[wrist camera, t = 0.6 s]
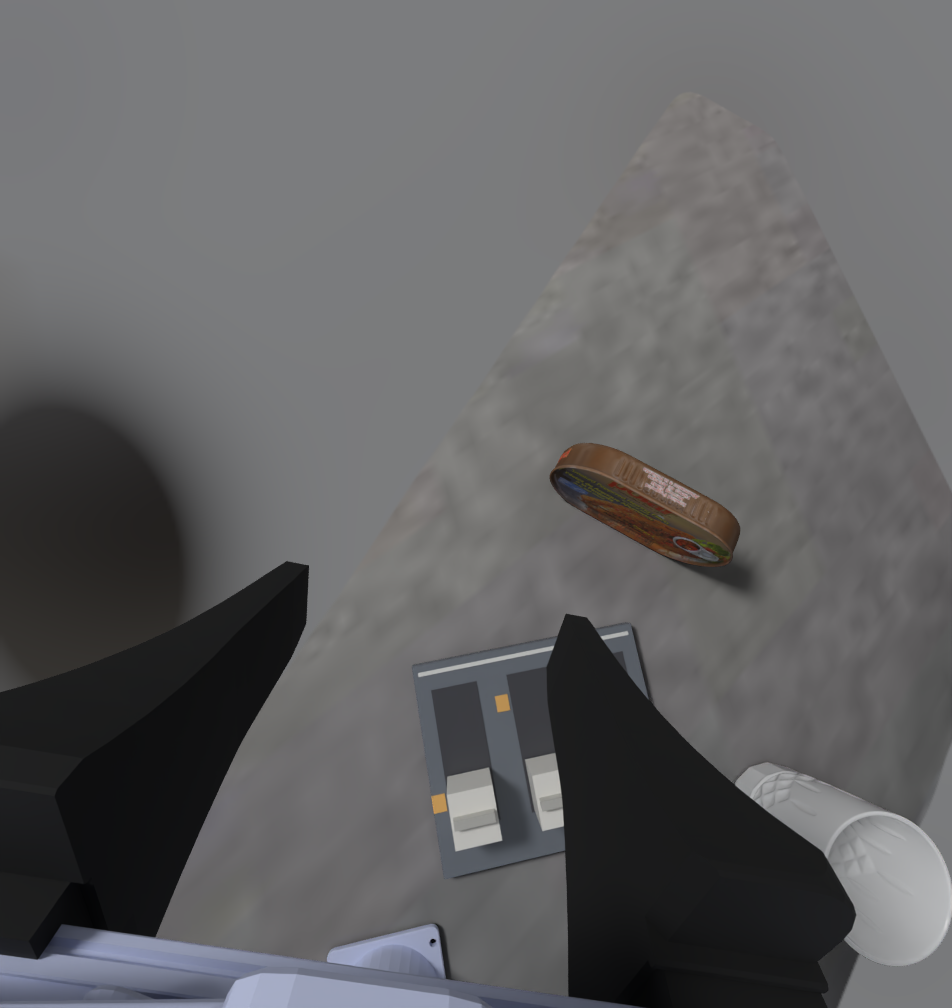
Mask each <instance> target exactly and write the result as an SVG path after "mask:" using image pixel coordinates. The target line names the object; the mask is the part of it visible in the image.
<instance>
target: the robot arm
mask: <svg viewBox="0 0 952 1008" xmlns="http://www.w3.org/2000/svg"><path fill="white" fill-rule="evenodd" d="M308 573H309V565H303V564H298V563H293V562H288V561H286V562H285V563H284V564H282V565H280V566H278V567H277V568H275V569H274V570H272V571H270V572H269V573H267V574H266V575H264V576H263V577H261V578H260V579H258V580H257V581H255V582H254V583H252V584H251V585H249V586H247V587H246V588H244V589H243V590H241V591H239V592H238V593H236V594H235V595H233V596H231V597H230V598H228V599H226V600H225V601H223V602H222V603H220V604H218V605H216V606H214V607H213V608H211V609H209V610H207V611H206V612H204V613H202V614H200V615H198V616H197V617H195V618H193V619H191V620H190V621H188V622H186V623H184V624H182V625H180V626H178V627H176V628H174V629H172V630H170V631H168V632H166V633H163V634H161V635H159V636H157V637H155V638H153V639H150V640H148V641H146V642H144V643H141V644H139V645H137V646H135V647H132V648H130V649H127V650H124V651H122V652H119V653H117V654H114V655H112V656H109V657H107V658H104V659H102V660H99V661H97V662H94V663H91V664H89V665H86V666H83V667H80V668H77V669H74V670H71V671H69V672H66V673H63V674H60V675H57V676H54V677H50V678H48V679H44V680H41V681H38V682H35V683H32V684H28V685H25V686H22V687H18V688H15V689H11V690H7V691H4V692H0V1008H827V1006H826V1003H825V1001H824V999H823V997H822V995H821V993H826V992H827V991H828V983H827V981H826V979H825V977H824V975H823V973H822V970H821V968H820V966H819V964H818V961H819V960H820V959H821V958H822V957H823V956H825V955H826V954H827V953H828V952H829V951H830V950H832V949H833V948H834V947H835V946H836V945H838V944H839V943H840V942H841V941H842V940H843V939H844V938H845V937H846V936H847V935H848V934H849V933H850V932H851V930H852V928H853V925H854V922H855V918H856V912H855V908H854V905H853V903H852V901H851V900H850V898H849V896H848V894H847V893H846V891H845V889H844V887H843V886H842V884H841V882H840V880H839V879H838V877H837V875H836V874H835V872H834V870H833V868H832V867H831V865H830V863H829V861H828V860H827V858H826V856H825V855H824V853H823V852H822V851H821V850H820V849H819V848H817V847H816V846H814V845H813V844H812V843H810V842H809V841H808V840H806V839H805V838H803V837H802V836H801V835H799V834H798V833H796V832H795V831H794V830H792V829H791V828H790V827H788V826H787V825H785V824H784V823H783V822H781V821H780V820H778V819H777V818H776V817H774V816H773V815H772V814H770V813H769V812H768V811H766V810H765V809H764V808H763V807H761V806H760V805H759V804H758V803H756V802H755V801H754V800H753V799H751V798H750V797H749V796H748V795H746V794H745V793H744V792H743V791H741V790H740V789H739V788H738V787H737V786H735V785H734V784H733V783H732V782H731V781H730V780H728V779H727V778H726V777H725V776H724V775H723V774H721V773H720V772H719V771H718V770H717V769H716V768H715V767H714V766H713V765H712V764H710V763H709V762H708V761H707V760H706V759H705V758H704V757H703V756H702V755H701V754H700V753H698V752H697V751H696V750H695V749H694V748H693V747H692V746H691V745H690V744H689V743H688V742H687V741H686V740H685V739H684V738H683V737H682V736H681V735H680V734H679V733H678V732H677V731H676V730H675V728H674V727H673V726H672V725H671V724H670V723H669V722H668V721H667V720H666V719H665V718H664V717H663V716H662V715H661V714H660V712H659V711H658V710H657V709H656V708H655V707H654V706H653V704H652V703H651V702H650V701H649V700H648V698H647V697H646V696H645V695H644V694H643V692H642V691H641V690H640V689H639V688H638V686H637V685H636V684H635V683H634V681H633V680H632V679H631V677H630V676H629V675H628V674H627V672H626V671H625V670H624V668H623V667H622V666H621V664H620V663H619V662H618V660H617V659H616V657H615V656H614V655H613V653H612V652H611V651H610V649H609V648H608V646H607V645H606V644H605V642H604V641H603V639H602V638H601V636H600V635H599V634H598V632H597V631H596V629H595V628H594V627H593V625H592V624H591V622H590V621H589V620H588V618H586V617H581V616H575V615H570V614H566V615H565V618H564V620H563V623H562V626H561V628H560V631H559V634H558V637H557V639H556V642H555V645H554V648H553V650H552V653H551V656H550V659H549V661H548V664H547V667H546V670H547V702H548V709H549V716H550V722H551V729H552V735H553V742H554V748H555V754H556V760H557V767H558V773H559V779H560V786H561V795H562V805H563V821H564V837H565V857H566V880H567V914H568V994H569V997H568V996H561V995H554V994H547V993H540V992H533V991H526V990H519V989H512V988H505V987H498V986H491V985H484V984H477V983H470V982H463V981H456V980H449V979H446V975H445V968H444V961H443V954H442V947H441V941H440V934H439V929H438V926H437V925H435V924H428V925H424V926H420V927H416V928H412V929H408V930H404V931H400V932H396V933H392V934H388V935H383V936H379V937H375V938H371V939H367V940H363V941H359V942H355V943H351V944H347V945H343V946H339V947H335V948H333V949H331V950H330V951H329V954H328V956H327V962H323V961H316V960H309V959H302V958H295V957H288V956H281V955H274V954H267V953H260V952H253V951H246V950H239V949H232V948H225V947H218V946H211V945H204V944H197V943H190V942H183V941H176V940H169V939H162V938H155V937H156V934H157V932H158V929H159V927H160V924H161V922H162V920H163V917H164V915H165V912H166V910H167V907H168V905H169V903H170V900H171V898H172V895H173V893H174V890H175V888H176V886H177V883H178V881H179V878H180V876H181V874H182V871H183V869H184V867H185V865H186V862H187V860H188V858H189V855H190V853H191V851H192V848H193V846H194V844H195V841H196V839H197V837H198V834H199V832H200V830H201V828H202V825H203V823H204V821H205V819H206V817H207V814H208V812H209V810H210V808H211V806H212V803H213V801H214V799H215V797H216V795H217V792H218V790H219V788H220V786H221V784H222V782H223V780H224V777H225V775H226V773H227V771H228V769H229V767H230V765H231V763H232V761H233V758H234V756H235V754H236V752H237V750H238V748H239V746H240V744H241V742H242V741H243V739H244V737H245V735H246V733H247V731H248V730H249V728H250V726H251V725H252V723H253V721H254V720H255V718H256V716H257V715H258V713H259V711H260V710H261V708H262V706H263V705H264V703H265V701H266V700H267V698H268V696H269V694H270V693H271V691H272V689H273V688H274V686H275V684H276V683H277V681H278V679H279V678H280V676H281V674H282V673H283V671H284V669H285V667H286V666H287V664H288V662H289V660H290V659H291V657H292V655H293V653H294V651H295V648H296V646H297V644H298V641H299V639H300V637H301V634H302V632H303V630H304V627H305V625H306V618H307V617H306V616H307V595H308V575H309V574H308ZM431 939H435V940H436V942H435V943H431V942H430V940H431Z"/></svg>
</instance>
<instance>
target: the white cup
mask: <svg viewBox="0 0 952 1008" xmlns="http://www.w3.org/2000/svg"><path fill="white" fill-rule="evenodd" d="M735 786H737V787H738V788H739V789H740V790H741V791H743V792H744V793H745V794H746V795H748V796H749V797H750V798H751V799H753V800H754V801H755V802H756V803H758V804H759V805H760V806H761V807H763V808H764V809H765V810H766V811H768V812H769V813H770V814H772V815H773V816H774V817H776V818H777V819H778V820H780V821H781V822H783V823H784V824H785V825H787V826H788V827H790V828H791V829H792V830H794V831H795V832H796V833H798V834H799V835H801V836H802V837H803V838H805V839H806V840H808V841H809V842H810V843H812V844H813V845H814V846H816V847H817V848H819V849H820V850H821V851H822V852H823V853H824V855H825V856H826V858H827V860H828V861H829V863H830V865H831V867H832V868H833V870H834V872H835V874H836V875H837V877H838V879H839V880H840V882H841V884H842V886H843V887H844V889H845V891H846V893H847V894H848V896H849V898H850V900H851V901H852V903H853V905H854V908H855V912H856V918H855V922H854V925H853V928H852V930H851V932H850V933H849V934H848V935H847V936H846V937H845V938H844V939H843V940H844V941H845V942H846V943H848V944H849V945H850V946H851V947H852V948H853V949H854V950H855V951H856V952H858V953H859V954H861V955H862V956H864V957H865V958H867V959H869V960H871V961H873V962H876V963H878V964H882V965H886V966H894V967H900V966H908V965H912V964H915V963H918V962H920V961H922V960H924V959H925V958H927V957H928V956H930V955H931V954H932V953H933V952H934V951H935V950H936V949H937V948H938V947H939V945H940V944H941V943H942V941H943V940H944V938H945V936H946V934H947V931H948V929H949V926H950V923H951V919H952V882H951V878H950V874H949V871H948V868H947V865H946V863H945V861H944V859H943V857H942V855H941V853H940V851H939V850H938V848H937V846H936V845H935V844H934V843H933V841H932V840H931V839H930V837H929V836H928V835H927V834H926V833H925V832H924V831H922V829H920V828H919V827H918V826H917V825H915V824H914V823H913V822H911V821H909V820H908V819H906V818H904V817H902V816H899V815H897V814H895V813H893V812H890V811H888V810H886V809H884V808H881V807H879V806H877V805H875V804H873V803H870V802H868V801H866V800H864V799H861V798H859V797H857V796H855V795H853V794H850V793H848V792H846V791H844V790H842V789H839V788H837V787H834V786H832V785H829V784H827V783H824V782H822V781H820V780H818V779H815V778H813V777H810V776H808V775H805V774H802V773H799V772H797V771H795V770H792V769H790V768H788V767H786V766H782V765H777V764H773V763H769V762H765V763H762V764H758V765H755V766H751V767H749V768H748V769H747V770H746V771H745V772H744V773H743V774H742V775H741V776H740V777H739V778H738V779H737V780H736V783H735Z"/></svg>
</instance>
